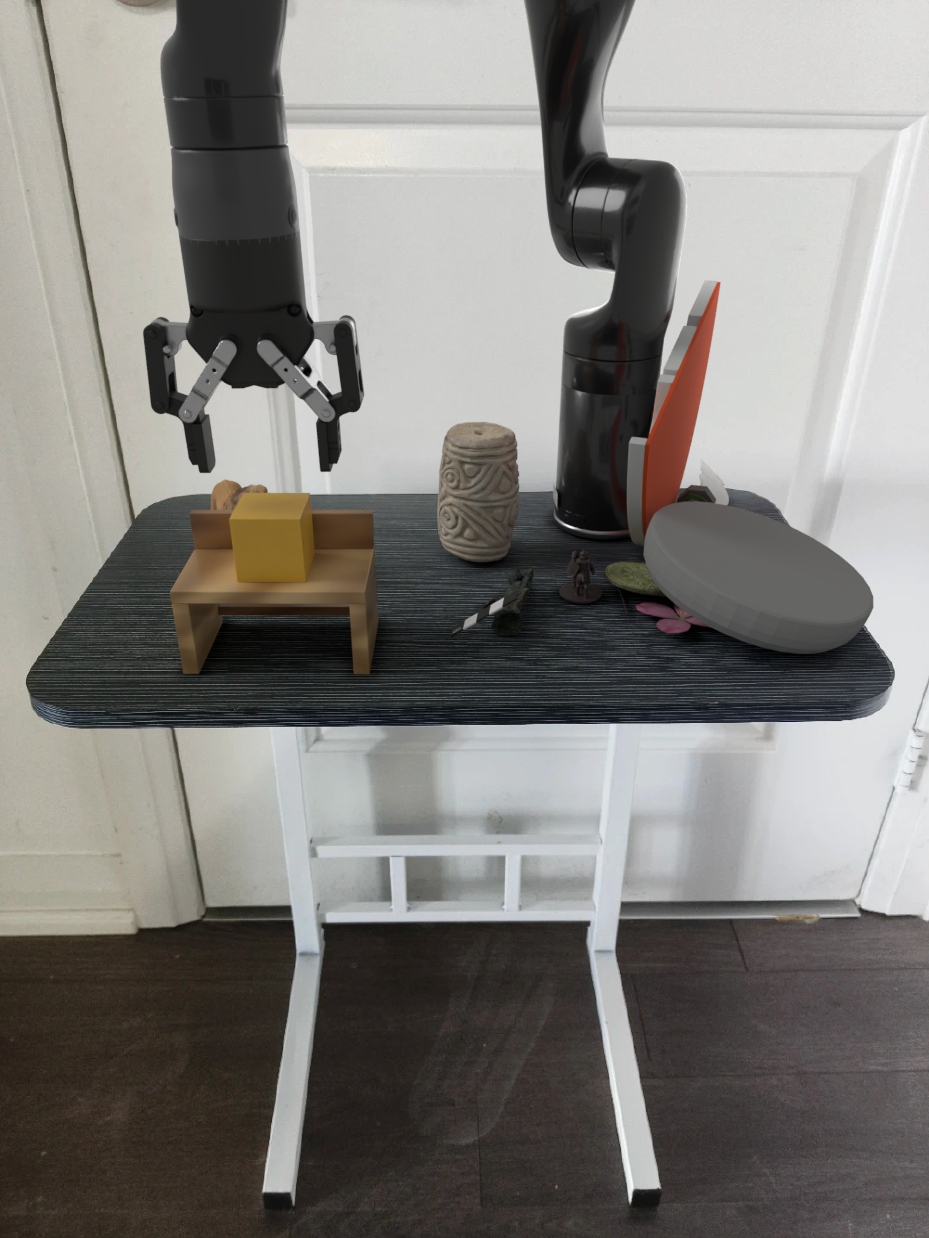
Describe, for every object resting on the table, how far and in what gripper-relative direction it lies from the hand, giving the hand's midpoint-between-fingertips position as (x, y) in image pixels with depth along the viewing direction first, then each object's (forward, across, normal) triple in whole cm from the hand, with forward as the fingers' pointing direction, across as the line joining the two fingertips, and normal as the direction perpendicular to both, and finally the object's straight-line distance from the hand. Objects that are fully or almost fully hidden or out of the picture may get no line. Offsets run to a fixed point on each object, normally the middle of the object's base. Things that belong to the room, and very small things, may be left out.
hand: (267, 469), depth 69 cm
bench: (+15, 0, 0) cm, 15 cm away
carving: (+15, -15, -17) cm, 27 cm away
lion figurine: (+15, +6, -15) cm, 22 cm away
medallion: (+14, -30, -9) cm, 34 cm away
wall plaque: (+2, -39, -36) cm, 53 cm away
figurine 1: (+15, -16, -5) cm, 23 cm away
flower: (+15, -32, -4) cm, 35 cm away
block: (+8, 0, 0) cm, 8 cm away
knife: (+15, -40, -25) cm, 50 cm away
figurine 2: (+15, -25, -9) cm, 30 cm away
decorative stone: (+9, -38, -5) cm, 39 cm away
